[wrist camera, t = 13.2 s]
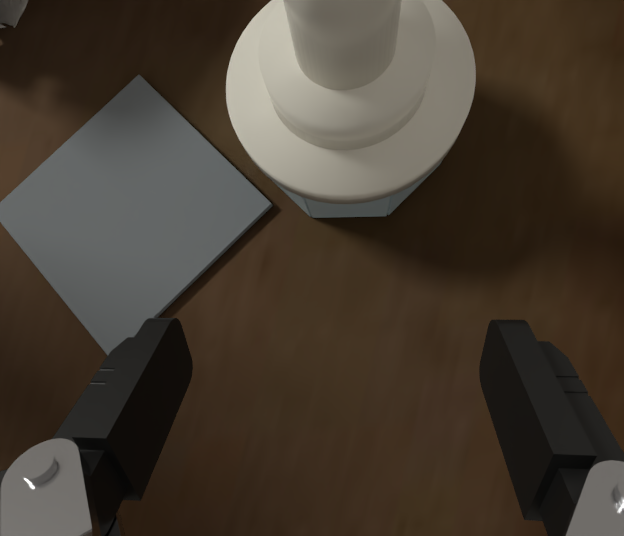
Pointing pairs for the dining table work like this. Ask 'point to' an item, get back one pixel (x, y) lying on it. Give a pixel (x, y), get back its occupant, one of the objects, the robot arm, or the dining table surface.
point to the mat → (130, 213)
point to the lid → (350, 94)
